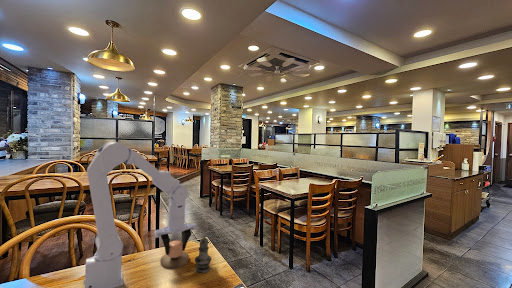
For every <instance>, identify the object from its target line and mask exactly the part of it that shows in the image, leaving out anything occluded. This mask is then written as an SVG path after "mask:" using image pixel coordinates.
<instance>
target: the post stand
mask: <svg viewBox="0 0 512 288" xmlns="http://www.w3.org/2000/svg"><path fill="white" fill-rule="evenodd" d="M189 260H190V255H189V254H188V253H187V252H185V251H183V253H182V255H181V256H179V257H176V258H171V257H168V255H166V253H165V254H163V255H162V256H161V258H160V260H159V261H160V266H161V267H162V268H164V269H170V270H171V269H178V268H181V267H184V266H186V264H188V262H189Z"/></svg>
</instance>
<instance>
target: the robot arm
mask: <svg viewBox="0 0 512 288" xmlns="http://www.w3.org/2000/svg"><path fill="white" fill-rule="evenodd" d="M123 163H124V164H125V165H132V166H135V167H137V168H138V169H139V170H140V171H142V172H143V173H145V174H147V175H148V176H149V177H151V182H152V184H153V185H154V186H155V187H157V188H158V189H159V190H161V191H162V192H164V193H165V194H166V195H167V196H168V197H169V201H168V202H169V203H168V219H167V220H168V222H167V223H168V224H167V226H166V227H161V228H159V229H155V230H154V237H155V238H156V239H158V238H159V237H160V238H161V240H162V243H163V246H164V251H165V254H166V255H169V243H170V242H171V238H170V235H173V234H176V235H178V234H181V241H182V242H183V252H185V251H186V246H187V244H188V242H189V239H190V238H191V236H192V235H193V234H192V231H195V230H196V228H197V224H196V223H195V222H193V223H185V215H186V200H187V198H188V197H189V194H190V192H189V191H188V188H187V186H186V185H183V184H182V183H181V181H180V180H179V179H175V178H174V177H173V176H172V173H171V172H170V171H168V170H167V171H166V170H163V169H162V170H159V169H157V168H156V167H155V166H154V165H153V164H152V163H150V162H149V161H148V160H147V159H146V158H144V157H143V156H142V155H141V154H140V153H139V152H137V151H135V150H133V149H131V147H128V146H127V145H126V144H124V143H121V142H118V141H115V140H112V141H107V142H105V143H104V144H103V145H102V146H100V147H99V148H98V149H97V151H96V153H95V155H94V157H92V160H91V161H90V163H89V165H88V166H87V169H86V174H87V180H88V186H89V191H90V198H91V203H92V207H93V209H92V210H93V214H94V220H95V225H96V236H95V239H94V242H95V245H96V249H97V250H96V252H95V253H94V255H93V256H91V257H88V258H86V259H85V272H84V278H83V286H84V288H118V287H121V286H123V285H124V279H123V278H124V277H123V273H122V272H123V271H122V260H123V249H124V243H123V241H122V240H121V238H120V236H119V232H118V230H117V227H116V223H115V217H114V216H115V215H114V211H113V205H112V197H111V193H110V188H109V180H108V179H109V178H108V174H110V173H111V172H112V170H113V169H115V168H116V167H117V166H119V165H121V164H123Z"/></svg>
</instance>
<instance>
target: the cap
mask: <svg viewBox="0 0 512 288" xmlns="http://www.w3.org/2000/svg"><path fill="white" fill-rule="evenodd" d="M183 252H184V251H183V242H182V240H172V241H170V242H169V255H168V257H171V258H176V257H179V256H181V255H182V253H183Z"/></svg>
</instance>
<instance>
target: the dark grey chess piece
mask: <svg viewBox="0 0 512 288" xmlns="http://www.w3.org/2000/svg"><path fill="white" fill-rule="evenodd" d="M208 253H209V239H208V238H206V236H205V235H203V237H202V238H201V239H200V240H199V247H198V255H197V256H196V257H195V258H194V262H195V269H194V272H196V273H198V274H206V273H208V272H209V271H211V266H210V264H211V261H212V257H211V256H210V255H209V254H208Z"/></svg>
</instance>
